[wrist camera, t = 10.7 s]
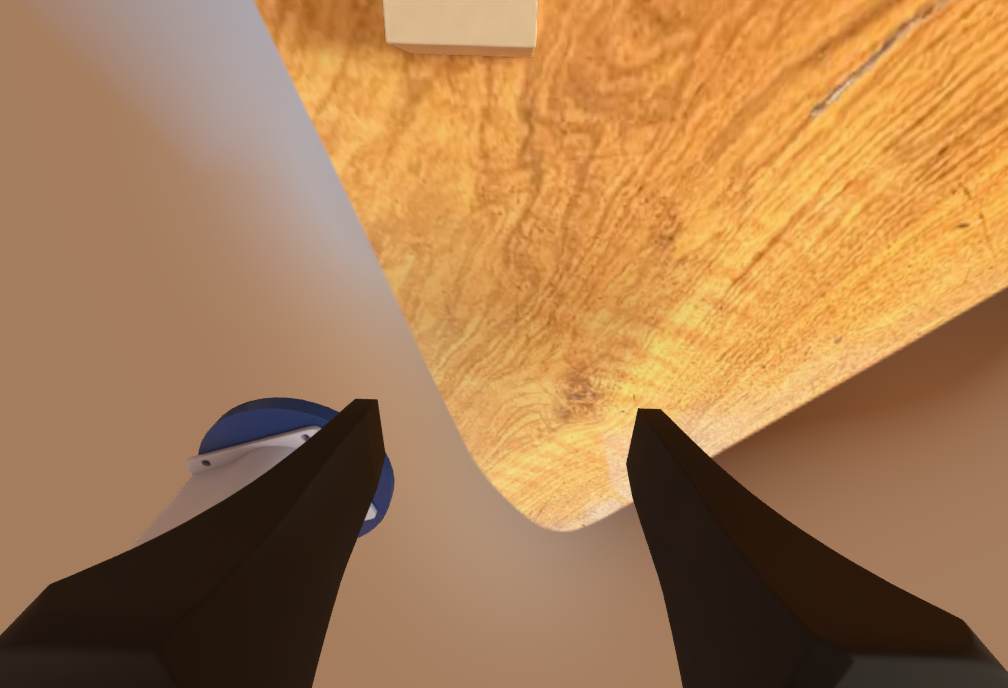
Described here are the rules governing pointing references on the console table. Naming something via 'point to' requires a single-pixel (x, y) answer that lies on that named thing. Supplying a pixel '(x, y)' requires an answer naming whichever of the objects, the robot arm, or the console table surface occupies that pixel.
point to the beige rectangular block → (462, 26)
